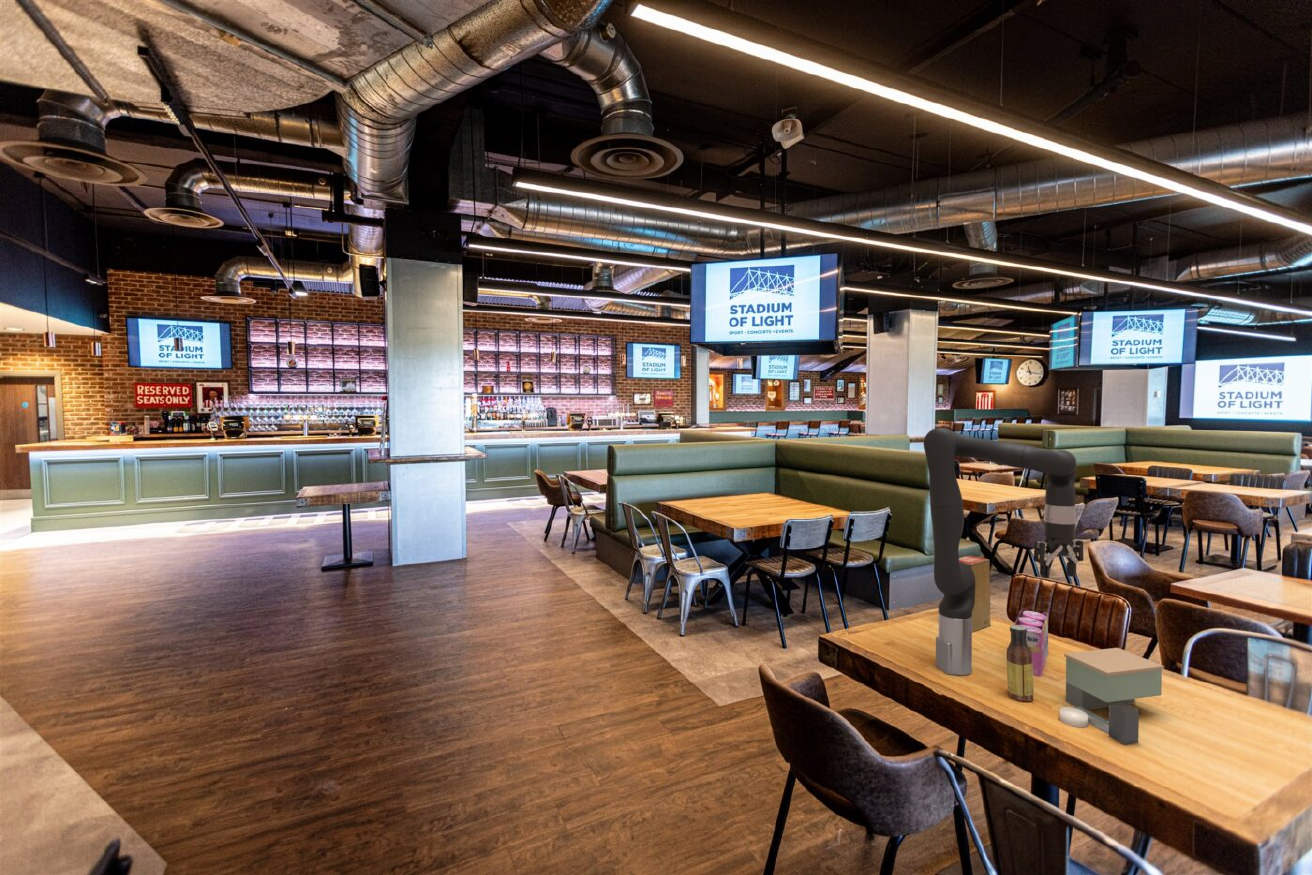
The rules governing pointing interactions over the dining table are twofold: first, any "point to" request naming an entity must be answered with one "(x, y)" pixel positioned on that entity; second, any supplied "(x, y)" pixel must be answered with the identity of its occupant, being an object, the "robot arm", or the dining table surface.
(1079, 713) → the puck
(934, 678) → the dining table surface
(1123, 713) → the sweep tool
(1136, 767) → the dining table surface
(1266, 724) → the dining table surface
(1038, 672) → the gum box
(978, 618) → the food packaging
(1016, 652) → the sauce bottle
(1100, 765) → the dining table surface
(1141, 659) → the cabinet
